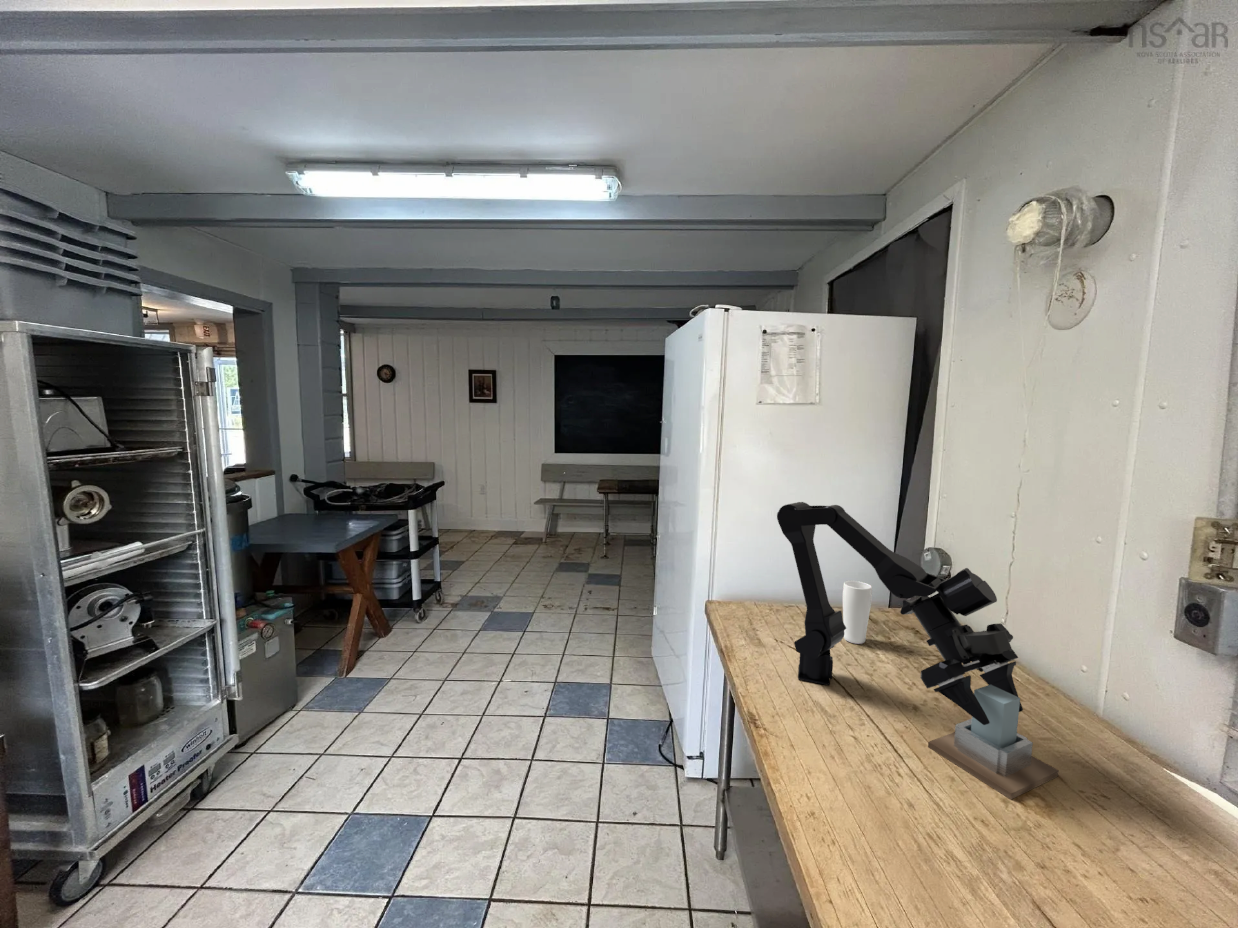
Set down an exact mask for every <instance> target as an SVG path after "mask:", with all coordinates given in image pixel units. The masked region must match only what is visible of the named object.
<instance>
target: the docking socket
mask: <svg viewBox="0 0 1238 928" xmlns="http://www.w3.org/2000/svg"><path fill="white" fill-rule="evenodd" d="M971 723H972V718H970V719H967V720H964V721H962V722H959V723H956V724H955V728H954V731H953V732H950V733H947V734H945V735H943V736H940V737H938V738H934V739H932V740H929V741H927V742H928V743H927V747H928V749H931V750H932V751H934V753H937V754H939V755H940V756H942V757H943V758H944V759H946V760H947V761H949V762H951V763H952V764H954V765H955V766H957V767H959V768H961V769H962V770H963V771H965V772H967V773H969V774H970V775H971V776H973V777H975V778H976V779H978V780H979V781H980V782H983V783H984V784H986V785H987V786H989V787H990V788H992V789H994V790H995V791H997V792H998V793H1000V794H1002V795H1003V796H1004V797H1006V798H1008V799H1009V800H1013V799H1015V798H1017V797H1019V796H1021V795H1023V794H1026V793H1027V792H1029V791H1031V790H1033V789H1035V788H1037V787H1039V786H1041V785H1044V784H1045V783H1048V782H1049V781H1051V780H1053V779H1055V778H1057V777H1059V774H1060V773H1059V772H1060V770H1059V769H1057V768H1055V767H1053V766H1052V765H1049V764H1048V763H1046V762H1045V761H1042V760H1040V759H1038V758H1037V757H1036V756H1033V755H1032V754H1033V745H1034V744H1033V742H1032V741H1031V740H1029V739H1028V737H1026V736H1024V735H1023V734H1020V733H1018V732H1017V736H1016V743H1015V744H1012V745H1010V746H1008V747H1005V748H1003V749H1002V748H1000V747H998V746H996V745H995V744H993V743H991V742H989V741H987V740H986V739H984V738H982V737H980V736H978V735H977V734H975V733H973V732H971Z"/></svg>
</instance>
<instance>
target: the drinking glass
mask: <svg viewBox="0 0 1238 928" xmlns="http://www.w3.org/2000/svg"><path fill="white" fill-rule="evenodd" d="M872 595H873V587H872V585H871V584H868V583H866V582H864V581H863V582H862V581H859V580H846V581H844V582H843V587H842V618H843V623H844V625H845V627H846V629H845V630H844V637H843V639H844V640H845V641H847V642H849V643H852V644H855V645H857V644H858V645H862V644H864V643H865V642H866V637H867V630H868V623H869V618H870V613H871V606H872V597H873V596H872Z"/></svg>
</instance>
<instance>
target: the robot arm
mask: <svg viewBox="0 0 1238 928" xmlns="http://www.w3.org/2000/svg"><path fill="white" fill-rule="evenodd" d="M776 519H777V522H778V525H779V527H780V529H781V533H782V534H783V535H784V537H785V538H786V539H787V541H788V542H789V543H790V545H791V549H792V553H793V557H794V560H795V563H796V568H797V573H798V576H799V580H800V585H801V589H802V593H803V597H804V602H805V605H806V612H805V617H804V631H805V633H804V634H805V635H802V637H800V638H798V639H796V640H795V641H794V643H793V644H794V647H795V651H796V652H797V653H799V662H798V663H799V664H798V670H797V679H798V680H800V681H804V682H809V683H810V682H811V683H813V684H814V683H815V684H820V685H825V686H830V684H831V682H830V680H832V679H833V667H834V660H833V659H834V658H833V656H831V649H833V648H834V647H835V646H836V645H837V644H839V643H840V642H841V641H842V640H843V639H844V630H845V629H846V627H845V625H844V623H843V611H842V610H836V611H835V610H834V608H833V607H832V605H831V604H830V601H829V598H828V594H827V590H826V587H825V582H824V577H823V574H822V570H821V566H820V563H819V558H818V555H817V550H816V546H815V543H814V538H815V533H816V532H815V531H816V527H817V525H818V526H819V525H822V526H823V525H826V526H828V527H829V528H830V529H831V530H832V531H834V533H836V534H837V535H838V536H839V537H840V538H841V539H842V540H843V541H844V542H846V543H847V544H848V545H849V546H850V547H851V548H852V549H853V550H854V551H856V552H857V553H858V554H859V555H860V556H861V558H862V557H863V559H865V560H866V562H868V564H870V565H871V566H872V568H873V569H874V571H875V572H876V574H877V577H878V578H879V580H880V581H881V582H882V584H883V585H884V586H885V587H886V589H887V590H888V591H889V592H890V594H892V595H893V596H895V597H896V598H898V599H904V600H902V606H901V609H900V611H899V612H900V614H901V615H902V616H903V615H912V614H914V616H915V617H916V619H917V620H918V622H919V623H920V625H921V627H922V628H923V630H924V631H925V633H926V634H927V636H928V637H929V638H928V639H927V640H925V641H926V643H927V644H928V646H929V647H931V646H935V648H936V649H937V651H938V652H939V654H940V656H941V657H942V659H943V660H942V661H939V662H937V663H935V664H933V665H930V666H928V667H926V668H923V669H921V670H920V680H921V681H922V683H923V684H924V686H925V688H926V689H930V688H933V687H936V688H933V691H934V693H939V694H941V695H943V696H944V697H945V698H947V699H949V700H950V701H951V702H952V703H954V704H955V705H957V706H958V707H959V708H961V709H962V710H963V711H965V712H966V713H967V714H968V715H970V716H971V718H972V717H974V718H975V719H976V720H978V721H979V722H980V723H981V724H983V725H986V724H989V723H990V722H989V720H988V718H987V716H986V714H985V712H984V710H983V708H982V707H981V705H980V703H979V702H978V700H977V698H976V696H975V695H974V691H973V690H972V688H971V687H972V686H971V682H972V677H971V674H969V675H967V676H964V675H966V673H968V672H971V671H975V670H976V671H979V672H980V673H981V674H979V676H980V678H981V679H983V681H984V682H985V683H986V684H987V685H990V684H991V685H993V686H995V687H997V688H999V689H1001V690H1004V691H1006V692H1008V693H1010V694H1012V695H1015V696H1017V697H1019V694H1018V690H1017V688H1016V685H1015V682H1014V679H1013V672H1014V667H1015V666H1017V661H1014V660H1016V659H1018V658H1019V656H1018V655H1017V654H1016V652H1015V650H1013V649H1012V646H1011V642H1012V640H1013V639H1014V635H1013V634H1011V633H1010V632H1009V630H1008V629H1007V628H1006V627H1005V626H1004V624H1003V623H999V622H998V623H991V624H988V625H987V626H986V630H982V631H974V630H973V628H972V627H971V626H970V625H968V624H964V625H962V624H961V623H960V622H959V621H960V620H958V618H957V617H956V616H955V615H961V616H964V617H967V616H970V615H972V614H974V613H975V612H978V611H980V610H982V609H984V608H987V607H989V606H991V605H992V604H994V603H997V602H998V598H997V595H996V593H995V592H994V590H993V588H992V587H991V586H990V585H989V583H988V582H987V581H986V580H983V579H982V578H981V577H979V576H978V574H975V573H974V572H972V571H971V570H970V569H969V568H968V567H965V568H963V569H962V570H960V571H959V572H957V573H956V574H955V575H953V576H951V577H948V578H947V579H945V578H942V577H940V576H936V575H934V574H931V573H928V572H927V571H925V569H924V568H923V567H921V566H920V565H919V564H917V563H915V562H913V561H912V560H910V559H909V558H907V557H905V556H903V555H900V554H898V553H897V552H894V551H893V550H891V549H890V548H888V547H887V546H885V545H884V544H883V543H882V542H881V541H880V540H878V539H877V538H876V537H875V536H874V535H873V534H872V533H870V531H868V530H867V529H866V528H865V527H864V526H863V525H861V524H860V523H859V522H858V520H856V519H854V518H853V517H852V516H851V515H850V514H848V512H846V510H845V509H844V507H843V506H841V505H838V504H832V505H809V504H808V503H807V502H804V501H798V502H793V503H788V504H784V505H782V506H781V507H780V508H779V510H778V512H777V513H776ZM934 593H936V594H934ZM933 594H934V595H933ZM931 595H932V596H931ZM914 597H917V598H916V599H914V600H910V599H912V598H914ZM954 614H955V615H954ZM1011 661H1012V662H1011ZM982 672H984V673H982ZM937 686H938V687H937ZM1023 711H1024V709H1023V705H1022V702H1021V701H1020V705H1019V713H1021V712H1023Z"/></svg>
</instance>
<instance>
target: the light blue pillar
mask: <svg viewBox="0 0 1238 928" xmlns="http://www.w3.org/2000/svg"><path fill="white" fill-rule="evenodd" d="M973 693H974V695H975V696H976V698H977V700H978V702H979V703H980V705H981V707H982V708H983V710H984V712H985V714H986V716H987V718H988V720H989V722H990V723H989V724H986V725H983V724H981V723H980V722H979V721H978V720H976V719H975V718H974V717H972V716H971V719H972V723H971V732H973V733H975V734H977V735H978V736H980V737H982V738H984V739H986V740H987V741H989V742H991V743H993V744H995V745H996V746H998V747H1000V748H1002V749H1003V748H1005V747H1008V746H1010V745H1012V744H1015V743H1016V736H1017V733H1018V722H1019V716H1020V715H1019V714H1020V712H1019V705H1020V702H1021V698H1020V697H1019V696H1018V697H1017V696H1015V695H1012V694H1010V693H1008V692H1006V691H1004V690H1001V689H999V688H997V687H995V686H993V685H991V684H990V685H988V684H987V685H985V686H981V687H978V688H975V689H974V691H973Z"/></svg>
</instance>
